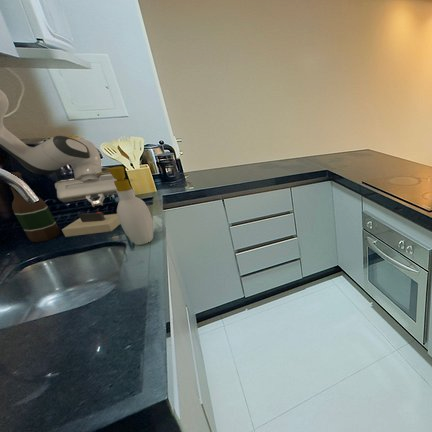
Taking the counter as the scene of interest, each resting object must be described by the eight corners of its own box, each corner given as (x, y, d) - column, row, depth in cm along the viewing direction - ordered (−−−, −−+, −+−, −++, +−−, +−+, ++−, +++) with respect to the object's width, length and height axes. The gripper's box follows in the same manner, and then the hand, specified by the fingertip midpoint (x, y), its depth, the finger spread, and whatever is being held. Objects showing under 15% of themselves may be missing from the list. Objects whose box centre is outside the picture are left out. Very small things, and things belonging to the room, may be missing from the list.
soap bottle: (128, 236, 106) (99, 165, 96) (159, 229, 111) (133, 161, 100) (123, 252, 95) (89, 174, 85) (157, 245, 100) (129, 170, 89)
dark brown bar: (82, 222, 111) (78, 214, 109) (84, 220, 112) (81, 212, 111) (102, 220, 112) (99, 212, 110) (105, 219, 113) (102, 211, 112)
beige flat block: (65, 237, 106) (61, 229, 105) (83, 224, 116) (79, 217, 115) (111, 231, 110) (108, 223, 109) (125, 219, 120) (122, 212, 119)
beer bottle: (28, 239, 105) (-9, 174, 96) (58, 230, 111) (26, 168, 102) (33, 244, 101) (-6, 177, 92) (64, 235, 107) (31, 171, 97)
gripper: (49, 176, 111) (56, 208, 107) (119, 167, 122) (127, 196, 119) (57, 185, 116) (64, 215, 112) (124, 175, 127) (132, 203, 124)
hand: (97, 205), depth 116 cm, fingers closed
